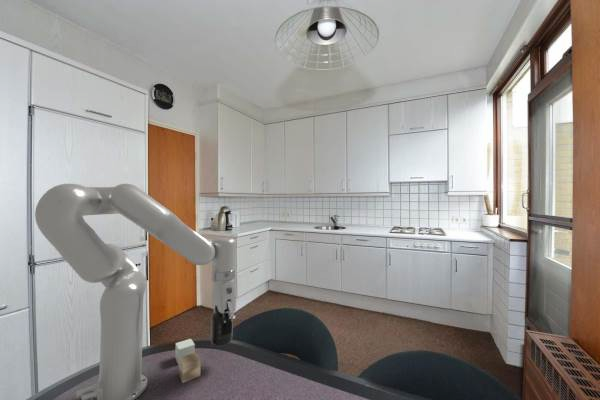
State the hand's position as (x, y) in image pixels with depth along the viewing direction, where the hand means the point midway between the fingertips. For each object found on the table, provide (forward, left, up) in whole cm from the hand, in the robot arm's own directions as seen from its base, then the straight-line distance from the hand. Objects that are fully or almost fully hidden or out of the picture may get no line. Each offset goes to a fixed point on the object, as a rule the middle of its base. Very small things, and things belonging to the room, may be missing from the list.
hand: (222, 329), depth 81 cm
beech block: (-10, +1, -11) cm, 15 cm away
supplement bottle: (0, 0, -4) cm, 4 cm away
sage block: (-9, +11, -12) cm, 18 cm away
